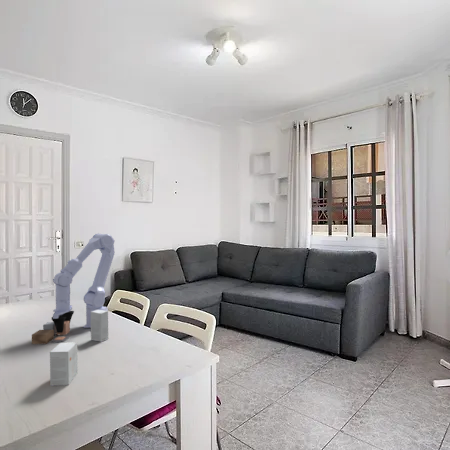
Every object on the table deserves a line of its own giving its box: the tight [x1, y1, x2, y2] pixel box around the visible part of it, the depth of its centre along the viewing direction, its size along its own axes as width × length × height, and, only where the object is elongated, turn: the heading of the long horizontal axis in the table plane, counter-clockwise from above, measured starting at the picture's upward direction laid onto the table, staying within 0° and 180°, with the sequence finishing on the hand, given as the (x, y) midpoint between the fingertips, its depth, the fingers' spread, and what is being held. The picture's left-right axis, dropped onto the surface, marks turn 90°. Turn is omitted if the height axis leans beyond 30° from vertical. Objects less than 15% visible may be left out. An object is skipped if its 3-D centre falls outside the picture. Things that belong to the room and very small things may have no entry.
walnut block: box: [31, 329, 55, 345], centre depth 138 cm, size 6×6×4 cm
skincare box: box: [90, 310, 109, 343], centre depth 140 cm, size 6×4×12 cm
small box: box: [49, 341, 79, 387], centre depth 105 cm, size 8×6×10 cm
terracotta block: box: [56, 321, 71, 336], centre depth 148 cm, size 4×4×5 cm
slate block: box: [42, 321, 57, 336], centre depth 146 cm, size 4×4×5 cm
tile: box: [50, 335, 70, 343], centre depth 140 cm, size 5×5×1 cm
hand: (63, 330), depth 148 cm, fingers open, 6 cm apart
